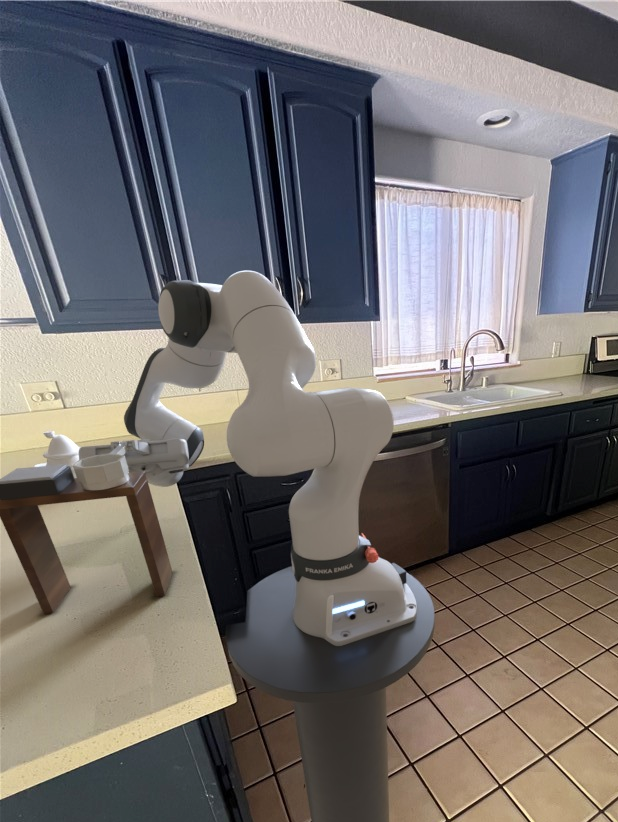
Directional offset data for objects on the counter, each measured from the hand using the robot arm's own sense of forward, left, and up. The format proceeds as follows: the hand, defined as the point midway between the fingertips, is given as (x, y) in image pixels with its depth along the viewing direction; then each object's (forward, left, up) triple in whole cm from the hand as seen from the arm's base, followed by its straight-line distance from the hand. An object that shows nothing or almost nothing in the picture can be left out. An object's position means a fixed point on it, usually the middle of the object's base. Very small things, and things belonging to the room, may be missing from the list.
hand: (123, 444), depth 83 cm
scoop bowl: (0, +7, -3) cm, 7 cm away
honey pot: (+33, -52, -25) cm, 66 cm away
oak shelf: (+5, +12, -25) cm, 28 cm away
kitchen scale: (+10, +13, -3) cm, 16 cm away
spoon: (+36, -73, -25) cm, 85 cm away
